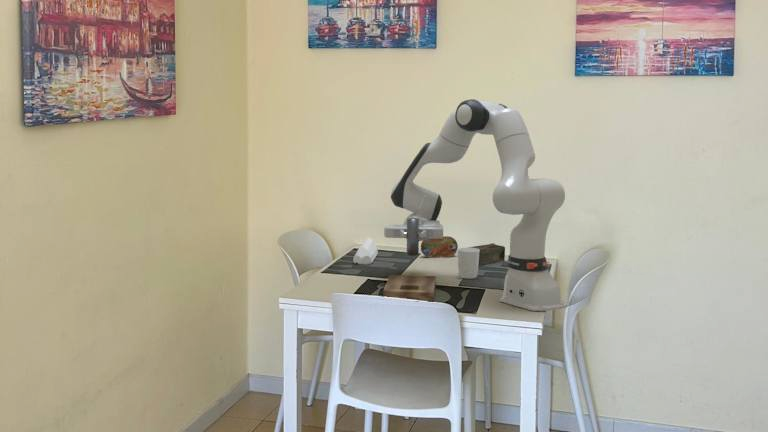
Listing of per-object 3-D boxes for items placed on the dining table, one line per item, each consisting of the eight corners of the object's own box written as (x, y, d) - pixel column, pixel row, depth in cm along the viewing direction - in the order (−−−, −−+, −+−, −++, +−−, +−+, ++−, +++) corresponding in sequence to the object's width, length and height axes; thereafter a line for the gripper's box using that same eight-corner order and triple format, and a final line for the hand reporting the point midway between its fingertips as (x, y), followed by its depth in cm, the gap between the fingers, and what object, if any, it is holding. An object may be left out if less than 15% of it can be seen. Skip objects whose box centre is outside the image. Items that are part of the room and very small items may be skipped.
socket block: (435, 284, 297) (436, 276, 297) (433, 301, 274) (433, 292, 273) (389, 283, 299) (389, 274, 298) (383, 300, 275) (383, 291, 275)
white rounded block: (356, 243, 352) (347, 255, 329) (371, 235, 351) (363, 246, 328) (364, 259, 353) (356, 271, 329) (380, 251, 352) (373, 263, 328)
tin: (421, 258, 343) (422, 237, 341) (419, 256, 346) (419, 236, 344) (457, 257, 346) (458, 236, 345) (455, 255, 349) (455, 235, 348)
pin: (420, 255, 288) (420, 219, 286) (410, 256, 286) (410, 220, 285) (415, 253, 292) (415, 218, 290) (404, 253, 290) (404, 218, 288)
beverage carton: (505, 261, 340) (506, 244, 339) (474, 267, 327) (474, 250, 326) (490, 258, 346) (490, 241, 345) (458, 264, 333) (458, 247, 332)
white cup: (477, 279, 306) (478, 252, 304) (455, 278, 307) (456, 251, 306) (479, 275, 314) (480, 248, 312) (458, 273, 315) (458, 247, 314)
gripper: (385, 219, 301) (381, 225, 288) (443, 220, 300) (442, 226, 286) (385, 237, 302) (381, 244, 289) (443, 238, 300) (442, 245, 287)
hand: (412, 235), depth 287 cm, fingers closed on pin, 4 cm apart
